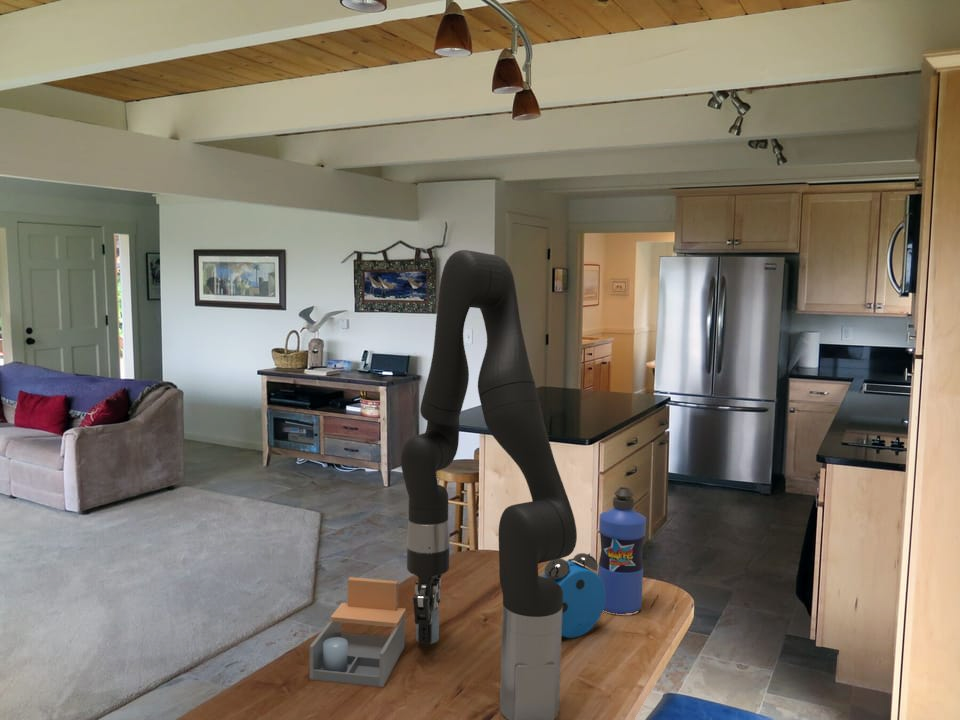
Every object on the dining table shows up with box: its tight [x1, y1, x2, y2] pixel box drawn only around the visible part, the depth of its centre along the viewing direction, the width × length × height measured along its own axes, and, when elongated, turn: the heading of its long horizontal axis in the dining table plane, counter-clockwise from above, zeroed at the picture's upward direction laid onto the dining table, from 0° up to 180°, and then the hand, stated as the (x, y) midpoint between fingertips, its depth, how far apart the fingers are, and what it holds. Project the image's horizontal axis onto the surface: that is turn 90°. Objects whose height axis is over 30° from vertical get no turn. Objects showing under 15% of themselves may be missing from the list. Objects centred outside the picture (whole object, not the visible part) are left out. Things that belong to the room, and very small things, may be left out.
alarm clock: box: [540, 552, 605, 639], centre depth 149 cm, size 13×6×15 cm, turn 122°
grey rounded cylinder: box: [323, 637, 348, 672], centre depth 131 cm, size 4×4×5 cm
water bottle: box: [597, 486, 647, 614], centre depth 161 cm, size 9×9×25 cm
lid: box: [330, 576, 407, 628], centre depth 139 cm, size 6×12×6 cm, turn 81°
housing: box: [309, 616, 406, 688], centre depth 135 cm, size 14×12×7 cm
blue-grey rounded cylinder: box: [415, 609, 440, 645], centre depth 141 cm, size 4×4×5 cm
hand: (427, 637), depth 141 cm, fingers closed on blue-grey rounded cylinder, 4 cm apart
